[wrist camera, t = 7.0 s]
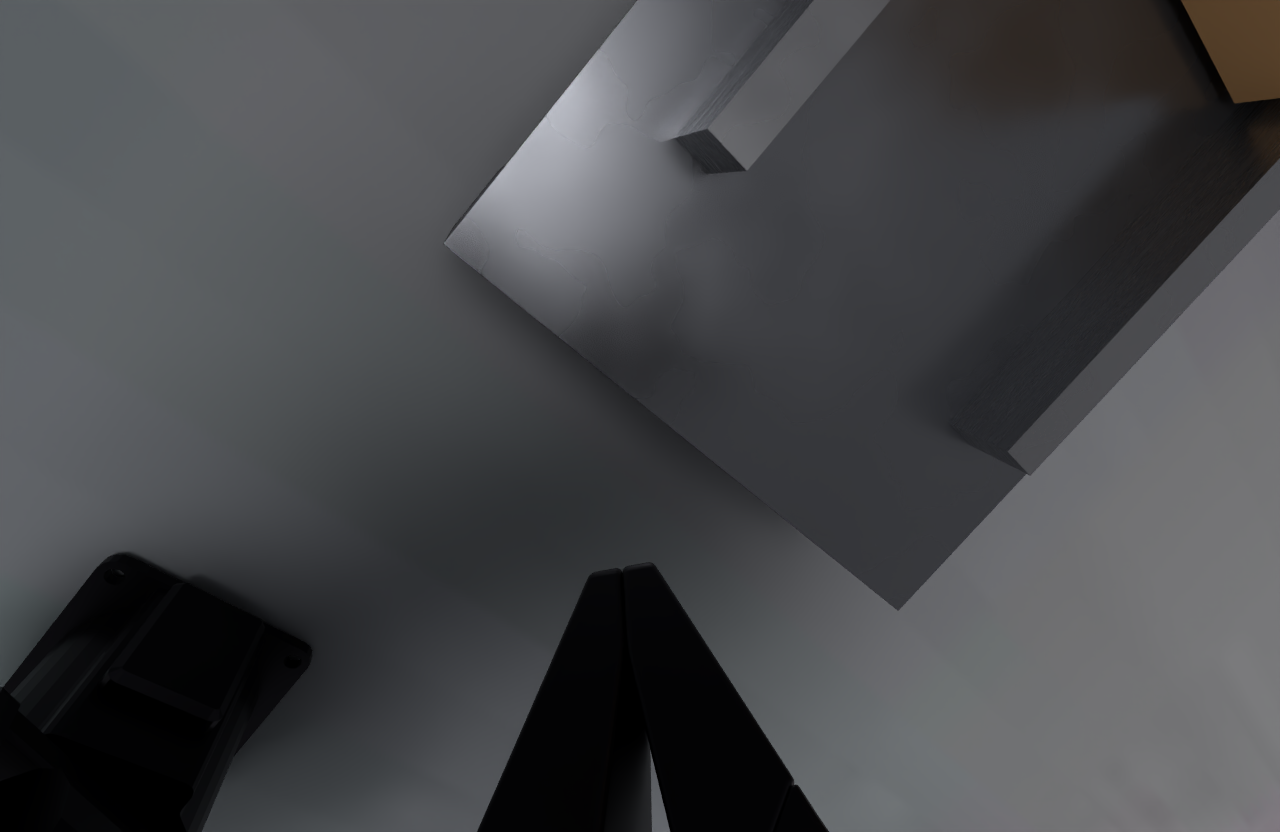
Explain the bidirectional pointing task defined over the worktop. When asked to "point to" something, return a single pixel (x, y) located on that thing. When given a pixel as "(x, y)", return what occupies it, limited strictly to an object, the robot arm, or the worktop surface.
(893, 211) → the bracket
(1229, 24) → the cardboard box
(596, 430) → the worktop surface
